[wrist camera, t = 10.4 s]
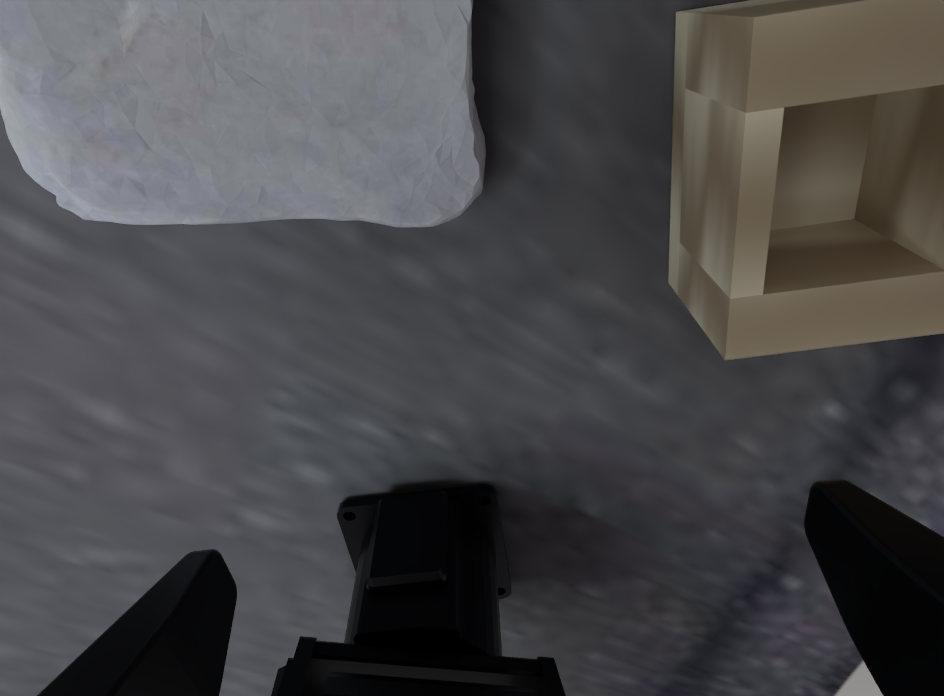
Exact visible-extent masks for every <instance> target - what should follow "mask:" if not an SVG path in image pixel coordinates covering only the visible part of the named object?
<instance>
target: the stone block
mask: <svg viewBox="0 0 944 696" xmlns="http://www.w3.org/2000/svg"><path fill="white" fill-rule="evenodd" d="M472 7H473V0H0V109H1V115H2V117H3V120H4V122H5V127H6V132H7V135H8V138H9V140H10V142H11V144H12V146H13V148H14V150H15V152H16V153H17V155H18V157H19V160H20V162H21V164H22V167H23V169H24V171H25V172H26V173H27V174H28V175H29V176H31V177H32V178H33V179H34V180H35V181H36V182H37V183H38V184H39V185H41V186H42V187H43V188H45V189H46V190H48V191H50V192H51V193H53V194H54V195H56V202H57V204H58V205H60V206H61V207H62V208H65V209H67V210H69V211H71V212H73V213H75V214H76V215H78V216H79V217H81V218H82V219H84V220H95V221H109V222H116V223H122V224H136V225H159V224H227V223H245V222H256V221H267V220H281V219H329V220H338V221H351V220H361V221H367V222H372V223H377V224H383V225H388V226H393V227H398V228H401V227H434V226H437V225H439V224H442V223H445V222H448V221H450V220H453V219H454V218H456V217H458V216H459V215H461V214H462V213H463V212H464V211H465V210H466V209H467V208H468V207H469V206H470V205H471V204H472V203H473V201H474V200H475V199H476V198H477V197H478V196H480V195H481V194H482V191H483V181H484V169H485V157H486V149H485V136H484V134H483V131H482V128H481V125H480V122H479V118H478V113H477V109H476V105H475V102H474V93H475V88H474V85H473V81H472V48H471V39H472V25H471V14H472Z"/></svg>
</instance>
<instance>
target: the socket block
mask: <svg viewBox="0 0 944 696" xmlns="http://www.w3.org/2000/svg"><path fill="white" fill-rule="evenodd" d="M668 283H669V284H670V286H671V287H672V288H673V290H674V291H675V293H676V294H677V295H678V297H679V298H680V299H681V301H682V302H683V304H684V305H685V306H686V308H687V309H688V310H689V312H690V313H691V314H692V316H693V317H694V319H695V320H696V321H697V323H698V324H699V325H700V327H701V328H702V330H703V331H704V332H705V334H706V335H707V336H708V338H709V339H710V341H711V342H712V343H713V345H714V346H715V347H716V349H717V350H718V351H719V353H720V354H721V356H722V357H723V358H724V360H731V359H739V358H747V357H755V356H764V355H772V354H780V353H788V352H796V351H804V350H812V349H820V348H828V347H836V346H844V345H853V344H861V343H869V342H877V341H885V340H893V339H901V338H909V337H917V336H925V335H934V334H942V333H944V0H749V1H743V2H736V3H730V4H723V5H717V6H710V7H704V8H697V9H691V10H684V11H678V12H676V28H675V64H674V99H673V135H672V171H671V206H670V242H669V278H668Z"/></svg>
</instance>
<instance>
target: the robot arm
mask: <svg viewBox="0 0 944 696" xmlns="http://www.w3.org/2000/svg"><path fill="white" fill-rule="evenodd" d="M483 496H487V497H488V498H480V497H483ZM347 512H353V514H351V513H347ZM337 518H338V521H339V524H340V527H341V530H342V533H343V536H344V539H345V542H346V544H347V547H348V550H349V553H350V556H351V559H352V562H353V565H354V568H355V571H356V578H355V584H354V590H353V595H352V601H351V607H350V612H349V618H348V623H347V629H346V635H345V640H344V643H337V642H326V641H317V638H313V637H300V639H299V642H298V645H297V649H296V652H295V655H294V658H288V661H287V664H286V666H284V667H282V668H280V669H278V672H277V676H276V680H275V683H274V687H273V691H272V695H271V696H565V693H564V689H563V686H562V683H561V680H560V676H559V673H558V670H557V667H556V663H555V660H554V658H549V657H538V658H537V659H527V658H516V657H504V656H502V647H501V632H500V617H499V601H498V599H503V598H506V597H508V596H509V595H510V594H511V583H510V576H509V570H508V563H507V557H506V550H505V544H504V538H503V531H502V525H501V518H500V512H499V505H498V499H497V493H496V490H495V489H494V488H493V487H492V486H490V485H475V486H466V487H457V488H449V489H440V490H431V491H423V492H414V493H406V494H397V495H388V496H380V497H371V498H362V499H354V500H347V501H344V502H342V503H341V504H340V506H339V508H338V513H337ZM804 528H805V533H806V536H807V539H808V541H809V543H810V546H811V548H812V550H813V552H814V555H815V557H816V559H817V562H818V564H819V566H820V569H821V571H822V573H823V576H824V578H825V580H826V582H827V585H828V587H829V589H830V592H831V594H832V596H833V599H834V601H835V603H836V606H837V608H838V610H839V612H840V615H841V617H842V619H843V622H844V624H845V626H846V628H847V630H848V632H849V634H850V636H851V638H852V640H853V642H854V644H855V646H856V648H857V650H858V652H859V653H860V655H861V657H862V659H863V660H864V662H865V664H866V666H867V668H868V669H869V671H870V673H871V675H872V676H873V678H874V680H875V682H876V684H877V685H878V687H879V689H880V691H881V692H882V694H883V695H884V696H944V537H943V536H941V535H940V534H938V533H936V532H934V531H933V530H931V529H929V528H928V527H926V526H924V525H922V524H921V523H919V522H917V521H916V520H914V519H912V518H910V517H909V516H907V515H905V514H904V513H902V512H900V511H898V510H897V509H895V508H893V507H892V506H890V505H888V504H886V503H885V502H883V501H881V500H880V499H878V498H876V497H874V496H873V495H871V494H869V493H868V492H866V491H864V490H862V489H861V488H859V487H857V486H856V485H854V484H852V483H850V482H849V481H846V480H844V479H832V480H823V481H817V482H814V483H813V484H812V486H811V488H810V492H809V498H808V503H807V508H806V513H805V519H804ZM236 599H237V588H236V584H235V581H234V579H233V577H232V575H231V573H230V571H229V569H228V567H227V565H226V563H225V561H224V559H223V557H222V555H221V554H220V552H218V551H217V550H214V549H211V550H202V551H194V552H191V553H189V554H187V555H186V556H185V557H184V558H182V559H181V560H180V561H179V562H178V563H177V564H176V565H175V566H174V567H173V568H172V569H171V570H170V571H169V572H168V573H167V574H166V575H164V576H163V577H162V578H161V579H160V580H159V581H158V582H157V583H156V584H155V585H154V586H153V587H152V588H151V589H150V590H149V591H147V592H146V593H145V594H144V595H143V596H142V597H141V598H140V599H139V600H138V601H137V602H136V603H135V604H134V605H133V606H132V607H131V608H129V609H128V610H127V611H126V612H125V613H124V614H123V615H122V616H121V617H120V618H119V619H118V620H117V621H116V622H115V623H114V624H112V625H111V626H110V627H109V628H108V629H107V630H106V631H105V632H104V633H103V634H102V635H101V636H100V637H99V638H98V639H97V640H96V641H94V642H93V643H92V644H91V645H90V646H89V647H88V648H87V649H86V650H85V651H84V652H83V653H82V654H81V655H80V656H79V657H77V658H76V659H75V660H74V661H73V662H72V663H71V664H70V665H69V666H68V667H67V668H66V669H65V670H64V671H63V672H62V673H61V674H59V675H58V676H57V677H56V678H55V679H54V680H53V681H52V682H51V683H50V684H49V685H48V686H47V687H46V688H45V689H44V690H42V691H41V692H40V693H39V694H38V695H37V696H219V692H220V688H221V683H222V678H223V672H224V666H225V661H226V655H227V650H228V644H229V639H230V633H231V628H232V622H233V616H234V611H235V605H236Z"/></svg>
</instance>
